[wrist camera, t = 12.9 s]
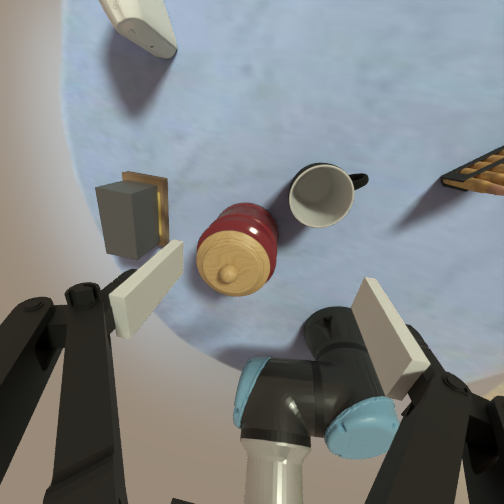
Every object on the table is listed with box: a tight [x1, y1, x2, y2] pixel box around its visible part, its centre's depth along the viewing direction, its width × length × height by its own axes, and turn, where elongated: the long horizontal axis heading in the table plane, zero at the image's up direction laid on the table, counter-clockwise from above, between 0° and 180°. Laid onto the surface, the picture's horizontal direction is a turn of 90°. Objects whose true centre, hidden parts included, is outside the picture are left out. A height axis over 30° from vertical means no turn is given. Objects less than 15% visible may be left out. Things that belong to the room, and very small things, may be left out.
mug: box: [289, 163, 368, 228], centre depth 35 cm, size 12×9×10 cm
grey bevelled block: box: [95, 180, 160, 260], centre depth 41 cm, size 12×6×8 cm, turn 172°
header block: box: [122, 171, 169, 246], centre depth 44 cm, size 14×8×6 cm, turn 172°
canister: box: [196, 203, 279, 296], centre depth 38 cm, size 13×13×18 cm
